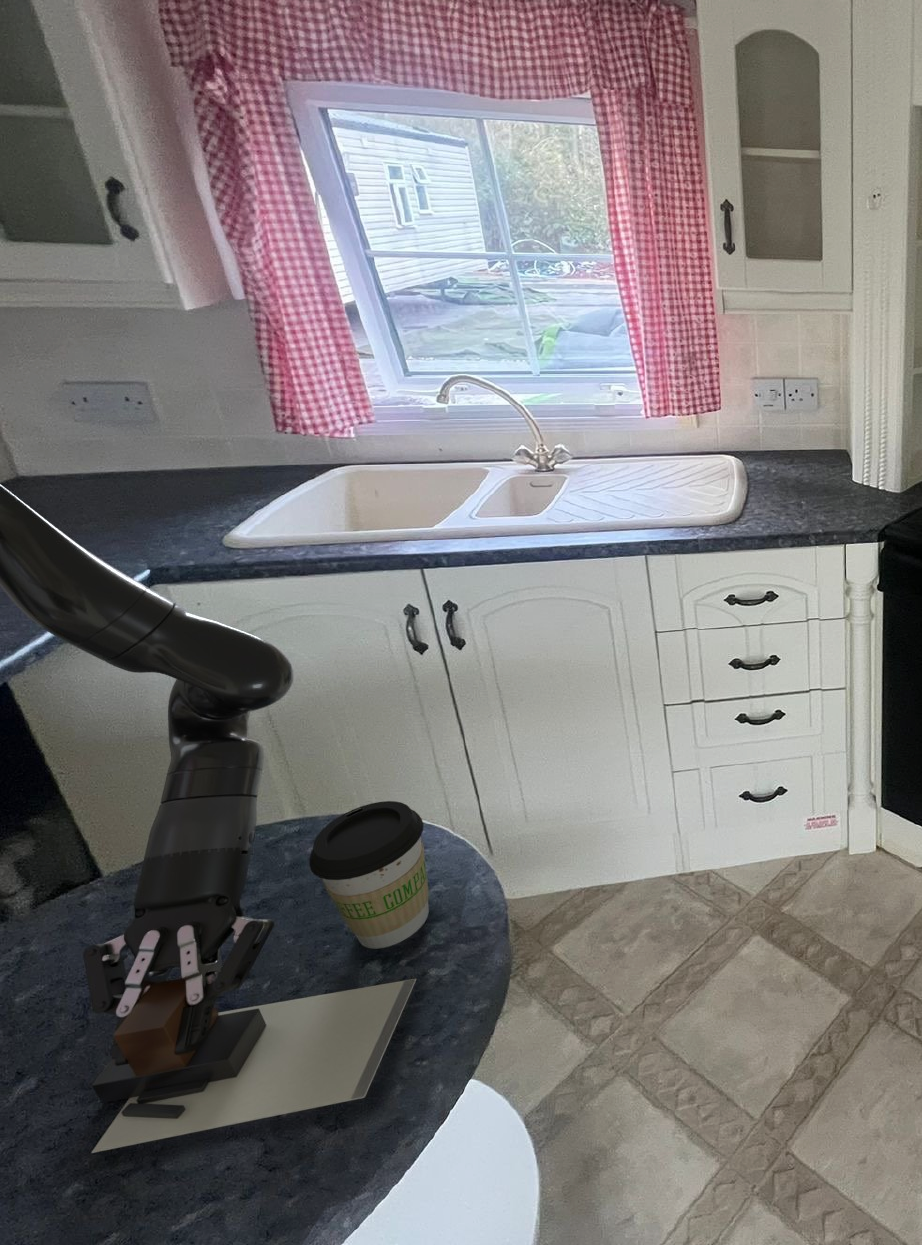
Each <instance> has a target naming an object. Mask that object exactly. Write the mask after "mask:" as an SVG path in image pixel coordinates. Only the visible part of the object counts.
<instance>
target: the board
mask: <svg viewBox="0 0 922 1245" xmlns="http://www.w3.org/2000/svg"><path fill="white" fill-rule="evenodd" d="M416 981H417V978H411V979H405V980H399V981H394V982H388V983H387V982H386V983H382V984H377V985H370V986H363V987H359V988H353V989H352V988H351V989H348V990H342V991H336V992H330V993H323V994H319V995H318V994H317V995H312V996H307V997H306V996H305V997H302V998H295V999H290V1000H284V1001H278V1002H273V1003H266V1004H261V1005H254V1006H249V1007H243V1008H237V1009H233V1010H232V1009H231V1010H226V1011H220V1012H218V1014H219V1015H224V1014H229V1013H235V1012H241V1011H246V1010H252V1009H258V1008H259V1010H260V1012H261V1014H262V1016H263V1019H264V1021H265V1023H266V1027H265V1029H264V1031H263V1032H262V1034H261V1036H260V1037H259V1039H258V1041H257V1043H256V1044H255V1046H254V1048H253V1049H252V1051H251V1053H250V1055H249V1056H248V1058H247V1060H246V1061H245V1063H244V1065H243V1067H242V1068H241V1070H240V1072H239V1074H238V1075H237V1077H234V1078H229V1079H224V1080H219V1081H214V1082H209V1083H208V1085H207V1086H206V1088H205V1090H204V1091H203V1092H199V1093H194V1094H189V1095H184V1096H179V1097H174V1098H169V1099H164V1100H159V1101H154V1102H149V1103H144V1104H164V1105H184V1107H185V1111H184V1112H183V1113H182V1114H181V1115H180V1116H179V1118H178V1119H172V1118H149V1117H126V1116H123V1115H122V1113H121V1112H122V1111H123V1110H124V1109H125V1108H126V1107H127V1106H128V1105H129V1104H130V1103H137V1101H136V1100H137V1099H138V1097H139V1096H137V1097H132V1098H128V1100H127V1101H126V1103H125V1104H124V1105H123V1107H122V1108H121V1110H120V1111H119V1112H118V1114H117V1115H116V1116H115V1118H114V1120H113V1121H112V1123H111V1124H110V1125H109V1127H108V1128H107V1129H106V1131H105V1132H104V1133H103V1135H102V1136H101V1138H100V1139H99V1141H98V1142H97V1144H96V1145H95V1146H94V1148H93V1149H92V1150H91V1153H90V1154H94V1153H100V1152H104V1151H108V1150H114V1149H118V1148H124V1147H128V1146H129V1147H130V1146H134V1145H137V1144H138V1145H139V1144H143V1143H144V1144H145V1143H148V1142H153V1141H158V1140H163V1139H168V1138H172V1137H173V1138H174V1137H177V1136H183V1135H188V1134H193V1133H198V1132H202V1131H207V1130H212V1129H217V1128H222V1127H227V1126H232V1125H236V1124H241V1123H248V1122H252V1121H256V1120H262V1119H267V1118H271V1117H276V1116H280V1115H286V1114H291V1113H296V1112H301V1111H306V1110H311V1109H316V1108H321V1107H325V1106H330V1105H336V1104H342V1103H345V1102H350V1101H355V1100H361V1099H364V1098H366V1096H367V1094H368V1091H369V1089H370V1087H371V1084H372V1082H373V1080H374V1077H375V1075H376V1073H377V1070H378V1068H379V1067H380V1063H381V1062H382V1058H383V1056H384V1054H385V1052H386V1050H387V1047H388V1045H389V1043H390V1041H391V1038H392V1036H393V1034H394V1032H395V1030H396V1027H397V1025H398V1023H399V1020H400V1018H401V1016H402V1013H403V1011H404V1009H405V1007H406V1004H407V1002H408V1000H409V997H410V995H411V993H412V990H413V989H414V986H415V984H416Z"/></svg>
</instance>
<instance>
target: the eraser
mask: <svg viewBox="0 0 922 1245" xmlns="http://www.w3.org/2000/svg"><path fill="white" fill-rule="evenodd" d="M188 1005H189V1004H188V1003H187V997H186V982H185V980H183V979H182V977H181V978H180V977H179V978H174V979H169V980H168V979H167V980H166V981H162V982H156V983H155V984H152V985H151V986H150V987H149V988H148V990H147V991H146V992H145V994H144V995H143V996H142V998H141V999H140V1000H139V1002H138V1003H137V1004H136V1006H135V1007H134V1008H133V1010H132V1011H131V1012H130V1014H129V1015H128V1016H127V1017H126V1019H125V1020H124V1021H123V1023H122V1024H121V1025H120V1027H119V1028H118V1029H117V1031H116V1030H115V1032H114V1033H113V1035H112V1037H113V1040H114V1039H115V1041H116V1042H117V1044H118V1046H119V1048H120V1049H121V1051H122V1053H123V1055H124V1056H125V1058H126V1060H127V1062H128V1063H129V1064H125V1065H120V1066H116V1065H115V1060H116V1059H112V1057H111V1058H110V1059H109V1061H108V1063H107V1064H106V1065H105V1067H103V1069H102V1070H101V1072H100V1073H99V1075H98V1076H97V1077H96V1078H95V1080H94V1081H93V1083H92V1084H91V1088H92V1089H93V1090H94V1093H95V1095H96V1096H97V1097H98V1099H99V1101H100V1102H101V1103H102V1104H105V1103H112V1102H117V1101H120V1100H127V1099H129V1098H132V1097H137V1096H140V1094H141V1093H142V1092H143V1091H148V1090H153V1089H158V1088H163V1087H168V1086H173V1085H179V1084H184V1083H189V1082H194V1081H199V1080H204V1079H207V1081H208V1083H209V1082H214V1081H219V1080H224V1079H229V1078H234V1077H237V1075H238V1074H239V1072H240V1070H241V1068H242V1067H243V1065H244V1063H245V1061H246V1060H247V1058H248V1056H249V1055H250V1053H251V1051H252V1049H253V1048H254V1046H255V1044H256V1043H257V1041H258V1039H259V1037H260V1036H261V1034H262V1032H263V1031H264V1029H265V1027H266V1023H265V1021H264V1019H263V1016H262V1014H261V1012H260V1010H259V1008H258V1009H252V1010H246V1011H241V1012H235V1013H229V1014H224V1015H219V1014H218V1013H219V1012H218V1010H217V1008H216V1005H214V1007H213V1013H212V1018H211V1024H210V1029H209V1034H208V1036H207V1038H206V1040H205V1041H203V1042H201V1044H200V1046H199V1048H198V1049H197V1050H195V1051H192V1052H189V1053H185V1054H180V1055H175V1053H174V1049H175V1046H176V1041H177V1036H178V1031H179V1026H180V1021H181V1016H182V1010H183V1008H185V1007H188Z"/></svg>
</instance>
